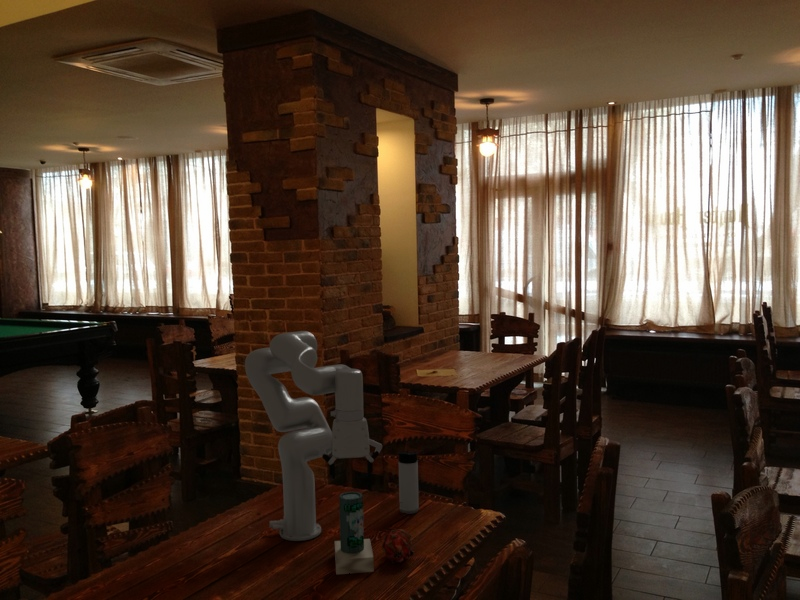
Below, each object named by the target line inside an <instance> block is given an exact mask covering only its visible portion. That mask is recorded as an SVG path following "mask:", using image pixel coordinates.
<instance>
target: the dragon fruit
mask: <svg viewBox="0 0 800 600" xmlns="http://www.w3.org/2000/svg"><path fill="white" fill-rule="evenodd" d="M411 538H412V535H411V534H410V533H409V532H408V533H407V532H406V531H405V530H404V529H402V528H400V529H399V528H398V529H392V530H391V531H390V532H389V534H386V535H385V536H384V537H383V542H382V545H381V549H382V551H384V555H385V556H386V557H387V558H388V560H389V561H390V563H391V564H392V565H396V564H397V563H402V562H404V560H407V559H408V557H412V556H414V553H415V551H414V550H412V549H413V546H414V545H413V542H412V541H411Z"/></svg>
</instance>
